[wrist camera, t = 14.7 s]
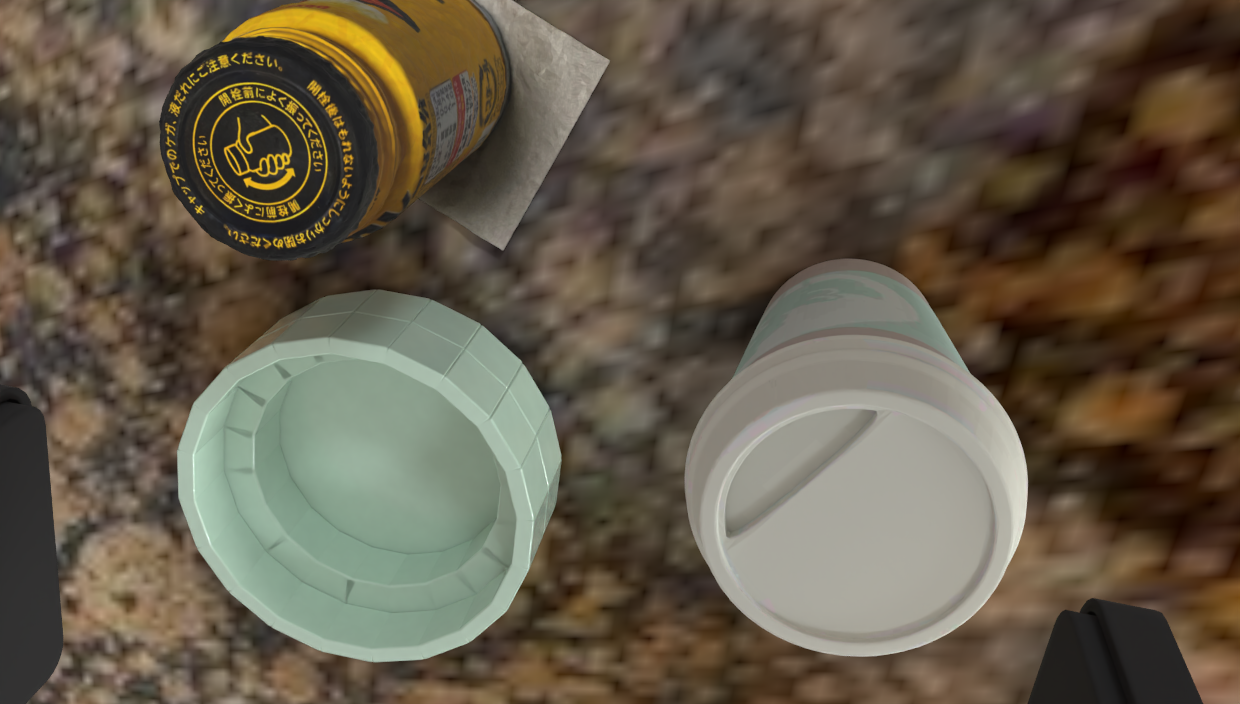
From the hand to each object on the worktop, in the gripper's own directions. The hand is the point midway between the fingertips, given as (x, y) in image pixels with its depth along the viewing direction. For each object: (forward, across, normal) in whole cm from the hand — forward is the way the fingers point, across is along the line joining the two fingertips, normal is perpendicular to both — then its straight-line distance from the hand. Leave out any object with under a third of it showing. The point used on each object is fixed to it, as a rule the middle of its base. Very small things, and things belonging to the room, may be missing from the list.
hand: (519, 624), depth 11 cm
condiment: (+28, +9, +2) cm, 30 cm away
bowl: (+28, +10, +15) cm, 34 cm away
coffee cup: (+28, -5, +8) cm, 30 cm away
